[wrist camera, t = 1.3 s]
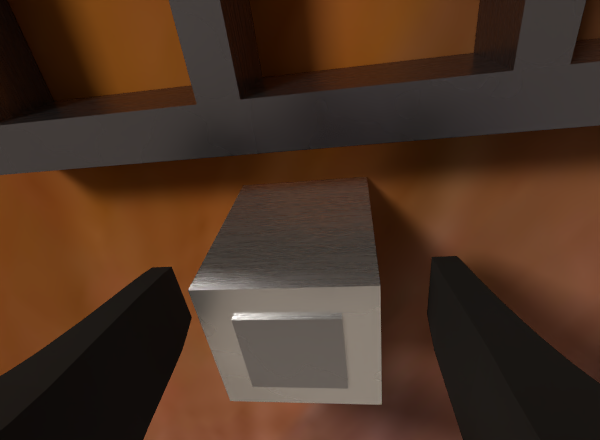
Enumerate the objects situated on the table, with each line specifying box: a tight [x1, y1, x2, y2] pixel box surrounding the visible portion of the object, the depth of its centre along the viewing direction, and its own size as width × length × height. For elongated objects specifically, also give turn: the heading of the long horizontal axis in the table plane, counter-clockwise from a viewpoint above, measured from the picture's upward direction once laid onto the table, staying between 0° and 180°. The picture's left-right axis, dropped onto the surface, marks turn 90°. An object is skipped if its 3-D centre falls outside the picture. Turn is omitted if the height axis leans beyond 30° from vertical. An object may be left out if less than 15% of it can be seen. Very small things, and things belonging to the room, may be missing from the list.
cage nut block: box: [188, 177, 382, 405], centre depth 10 cm, size 4×4×5 cm
